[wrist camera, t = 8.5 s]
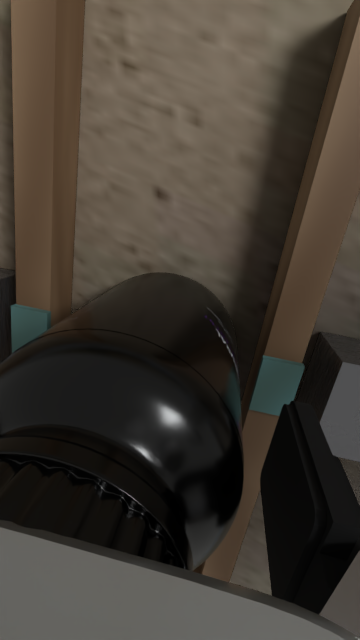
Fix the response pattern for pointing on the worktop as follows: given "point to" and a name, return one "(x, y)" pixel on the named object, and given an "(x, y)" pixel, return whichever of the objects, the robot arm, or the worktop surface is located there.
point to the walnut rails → (60, 206)
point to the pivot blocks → (317, 388)
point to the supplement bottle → (128, 423)
